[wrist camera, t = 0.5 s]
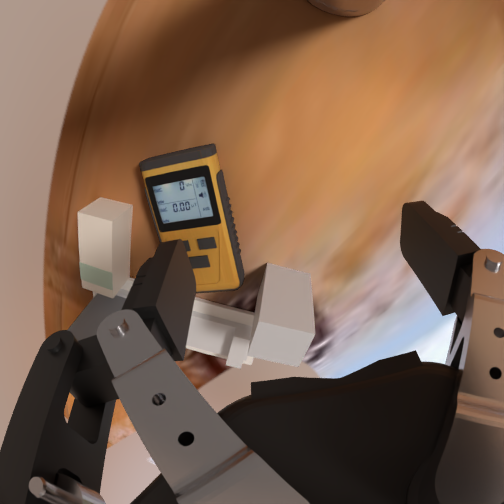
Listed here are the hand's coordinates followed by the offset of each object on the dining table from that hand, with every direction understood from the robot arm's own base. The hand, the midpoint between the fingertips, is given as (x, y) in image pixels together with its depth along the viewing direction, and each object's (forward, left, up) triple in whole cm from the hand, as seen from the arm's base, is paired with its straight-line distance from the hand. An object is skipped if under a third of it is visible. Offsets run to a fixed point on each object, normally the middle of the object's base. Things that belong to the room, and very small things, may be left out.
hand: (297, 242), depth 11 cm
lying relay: (+15, -18, -20) cm, 31 cm away
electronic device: (+10, -8, -21) cm, 24 cm away
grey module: (+15, +3, -20) cm, 25 cm away
